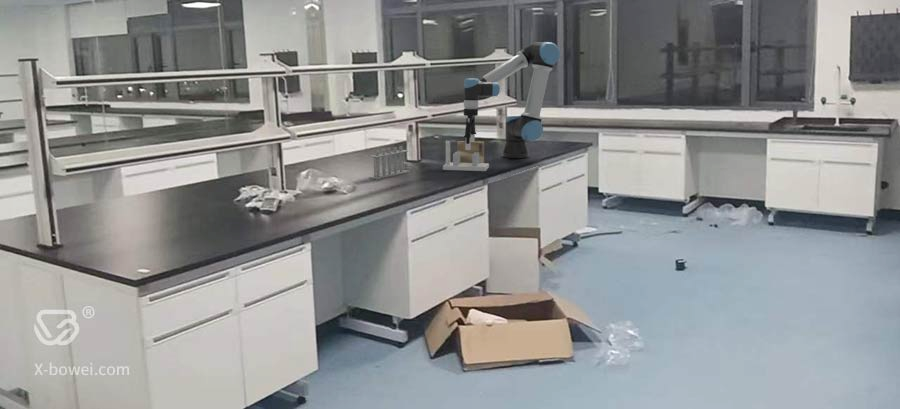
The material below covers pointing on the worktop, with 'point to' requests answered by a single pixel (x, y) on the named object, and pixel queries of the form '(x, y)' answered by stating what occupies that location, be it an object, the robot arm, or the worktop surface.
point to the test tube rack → (389, 163)
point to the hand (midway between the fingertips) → (470, 148)
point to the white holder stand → (463, 166)
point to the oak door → (470, 151)
